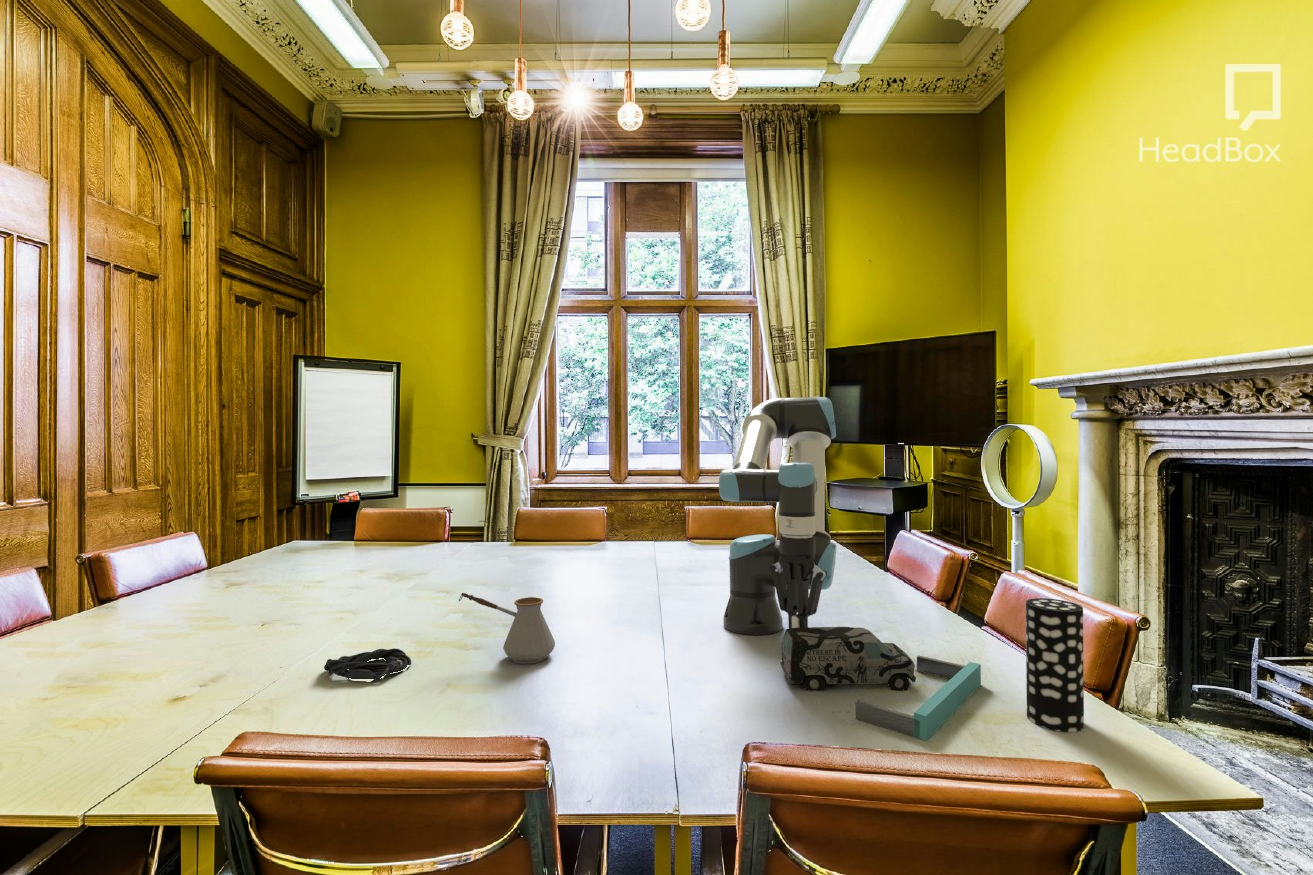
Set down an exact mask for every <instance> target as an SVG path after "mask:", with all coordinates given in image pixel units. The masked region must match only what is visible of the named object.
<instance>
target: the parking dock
mask: <svg viewBox="0 0 1313 875" xmlns="http://www.w3.org/2000/svg"><path fill="white" fill-rule="evenodd" d="M981 669H982V666H981V663H976V662H972V661H969V662H968V663H967V664H965V665H963V664H958V663H955V662H950V661H945V660H942V659H936V658H931V657H928V656H923V655H920V654H919V655H917V656H916V671H917V672H920V673H923V674H928V675H931V676H936V677H939V678H945V679H949V680H947V682H946V683H944V684H943V685H942V686H941V687H939V689H938V690H937V691H936V692H935V693H933V694H932V695H931V696H930V697H928V699H927V700H926V701H924V703H922V704H921V705H920V706H918V708H917V709H915V711H914V712H913V715H912V714H908V713H905V712H902V711H897V710H894V709H891V708H888V707H885V706H881V705H878V704H873V703H871V702H867V701H863V700H861V699H857V700H855V702H854V703H855V719H856V720H858V721H862V722H865V723H868V724H872V725H874V726H878V727H881V728H884V729H887V730H891V731H893V732H897V733H900V734H903V735H907V736H910V737H913V738H915V739H919V740H922V741H927V740H929V738H930V737H931V736H932V735H933V734H935V732H937V731H938V730H939V728H941V726H943V724H944V723H945V722H946V721H948V719H949V718H950V717H951V716H952V715H953V714H954V713H955V712H956V711H957V710H958V709H959V708H960V707H961V706H962V705H963V704H964V703H965V701H967V700H968V698H970V697H971V696H972V694H974V692H975V691H977V689H978V688H979V687H980V686H981V685H982V680H981V679H982V676H981V675H982V672H981V671H982V670H981Z"/></svg>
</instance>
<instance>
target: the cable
mask: <svg viewBox="0 0 1313 875" xmlns="http://www.w3.org/2000/svg"><path fill="white" fill-rule="evenodd" d="M379 658H384V659H385V660H386V661H387V662H386V661H385V662H386V663H383V662H380V663H379V662H378V663H377V662H374V663H373V662H367V661H369V660H371V659H378V660H379ZM411 659H412V658H411V657H410V656H409V655H407V654H406V652H404V650H402V649H399V648H389V649H385V648H378V649H374V650H373V651H364V652H360V653H356V654H353V655H342V656H340V657H339V658H338V659H331V658H328V659H326V662H325V664H324V666H323V669H324V671H328V675H329V674H330V675H335V676H339V677H342V678H346V679H347V678H348V679H349V678H351V679H380V678H381V677H382V676H384V675H385V674H390V673H393V672H398V671H401V670H403V669H405V668H406V667H407V665H412V660H411ZM385 676H386V675H385ZM348 679H347V680H348Z"/></svg>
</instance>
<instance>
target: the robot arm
mask: <svg viewBox="0 0 1313 875" xmlns="http://www.w3.org/2000/svg"><path fill="white" fill-rule="evenodd" d="M741 430H742V439H741V441H740V444H739V448H738V451H737V455H736V458H735V461H734V463H733V467H732V468H728V469H723V470H721V471H720V473H719V478H718V492H719V493H718V494H719V496H720V498H721V500H723V501H725V502H735V503H739V502H740V503H741V502H742V503H744V502H745V503H750V502H751V503H779V506H778V508H779V511H778V518H779V521H778V523H779V530H778V531H779V533H780V534H781V535H780V536H779V537H778V538H779V539H778V540H776V537H775V535H773V534H768V533H767V534H764V533H763V534H753V535H746V536H742V537H741V536H740V537H738V538H735V539H734V540H732V541H731V543H730V544H729V557H728V560H729V598H728V601H727V603H726V604H727V605H726V608H725V611H724V614H723V627H724V629H726V630H728V631H730V632H733V633H736V634H740V635H742V634H743V635H750V636H752V635H753V636H754V635H755V636H759V635H761V636H762V635H770V634H775V633H777V632H780V631H782V629H783V627H784V626H783V624H784V623H783V616H782V613H781V612H783V611H784V612H786V613H787V615H788V617H787V618H788V629H789V628H806V627H809V626H808V625H809V622H808V620H809V617H810V616H814V615H815V614H817V612H818V606H819V604H820V603H819V602H820V597H821V593H822V590H823V591H824V590H828V589H830V587H832V584H833V581H834V574H835V569H836V568H835V565H836V556H837V544H836V543H834V542H831V539H832V538H831V535H830V534H829V533H828V532H827V531H826V530H825V529H826V528H825V527H826V526H825V523H826V521H825V520H826V518H825V516H826V515H825V514H826V513H825V509H826V508H825V506H826V504H825V503H826V502H825V500H826V499H825V497H826V494H825V493H826V489H825V488H826V487H825V486H826V480H825V479H826V478H825V477H826V476H825V474H826V471H825V470H826V468H825V467H826V449H827V448H828V447H829V446H830V445H831V442H832V441H831V440H833V439H835V438H836V437H837V432H836V431H837V428H836V422H835V414H834V408H833V403H832V401H831V399H830V398H829V397H824V396H816V395H815V396H810V397H806V396H805V397H803V396H802V397H775V398H771V399H768V400H765V401H763V402H761V403H760V404H757V405H756V406H755V407H753V409H752V410H751V411H750V412H749V413H747V415H746V416H745V419H744V421H743V422H742V427H741ZM775 439H776V440H777V439H783V440H784V439H787V444H788V445H789V446H790V448H792V462H782V463H781V464H779V466H778V467H779V468H778V469H766V465H767V460H768V456H769V451H770V447H771V443H772V442H773V441H774V440H775ZM776 596H777V598H776ZM777 600H778V601H777Z"/></svg>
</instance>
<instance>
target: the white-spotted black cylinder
mask: <svg viewBox="0 0 1313 875" xmlns="http://www.w3.org/2000/svg"><path fill="white" fill-rule="evenodd" d="M1025 657H1026V658H1025V663H1026V665H1025V666H1026V669H1025V671H1026V673H1025V674H1026V677H1025V679H1026V681H1025V684H1026V685H1025V686H1026V717H1027V719H1028V720H1029V721H1030V722H1031V723H1032V724H1035V725H1037V726H1039V727H1042V728H1044V729H1048V730H1052V731H1056V732H1063V733H1077V732H1081V731H1082V730H1084V728H1085V717H1084V716H1085V702H1084V700H1085V699H1084V698H1085V691H1084V688H1085V687H1084V684H1085V683H1084V680H1085V679H1084V678H1085V677H1084V675H1085V674H1084V670H1085V669H1084V607H1083V606H1082V605H1080V604H1078V603H1075V602H1071V601H1067V600H1061V599H1056V598H1041V597H1039V598H1029V599H1027V600H1026V601H1025Z"/></svg>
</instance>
